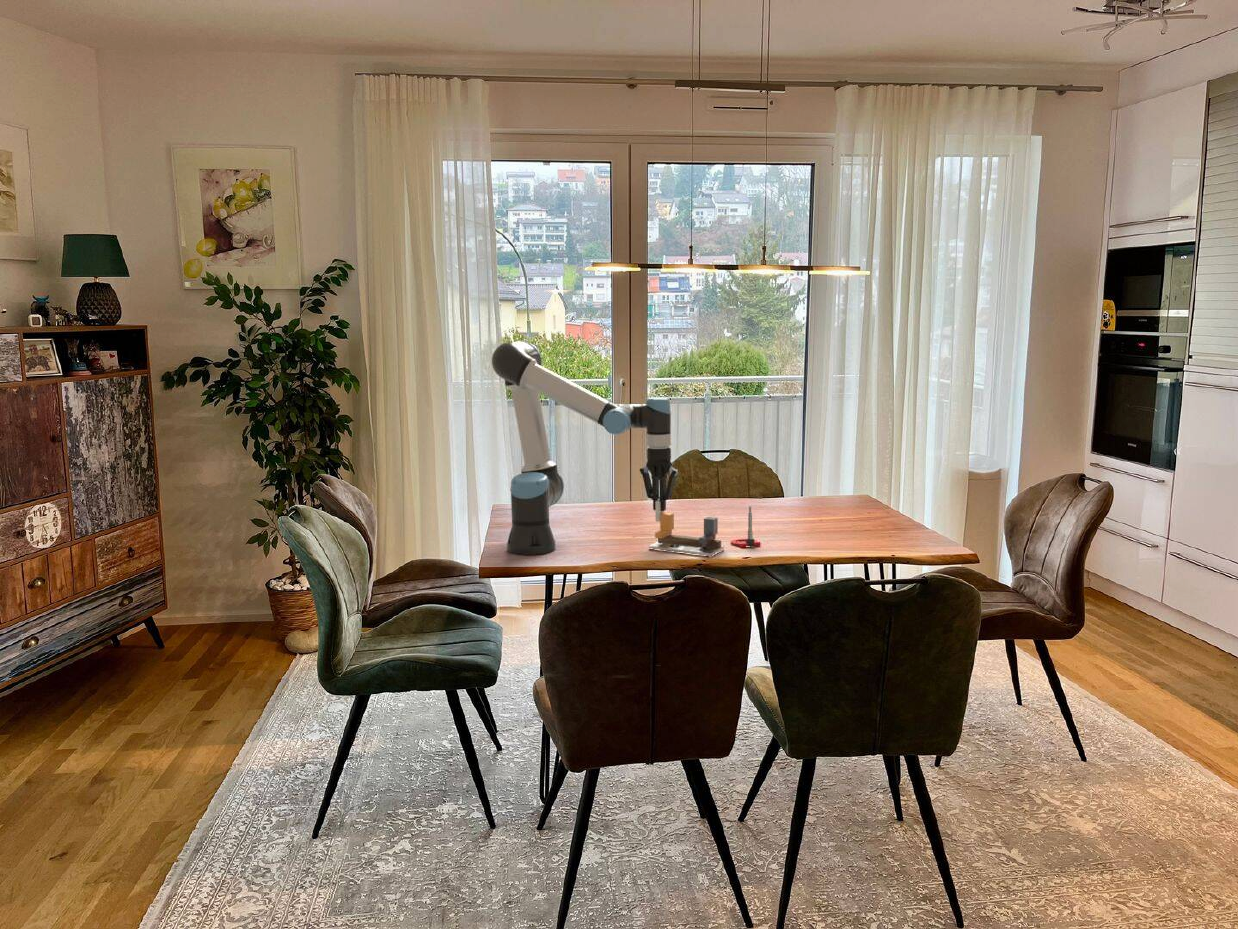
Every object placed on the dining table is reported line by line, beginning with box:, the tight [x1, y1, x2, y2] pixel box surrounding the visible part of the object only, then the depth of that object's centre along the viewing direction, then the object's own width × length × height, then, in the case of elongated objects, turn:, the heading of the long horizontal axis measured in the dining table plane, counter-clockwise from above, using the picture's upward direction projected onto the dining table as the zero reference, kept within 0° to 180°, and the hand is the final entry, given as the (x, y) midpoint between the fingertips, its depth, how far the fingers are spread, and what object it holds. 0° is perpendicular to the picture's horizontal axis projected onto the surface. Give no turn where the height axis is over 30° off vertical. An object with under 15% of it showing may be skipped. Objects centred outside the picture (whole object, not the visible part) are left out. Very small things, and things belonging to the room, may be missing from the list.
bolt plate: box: [647, 534, 725, 557], centre depth 289 cm, size 10×21×3 cm, turn 61°
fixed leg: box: [698, 516, 719, 549], centre depth 286 cm, size 8×3×8 cm, turn 151°
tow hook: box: [730, 506, 761, 548], centre depth 295 cm, size 8×13×9 cm
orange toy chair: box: [654, 511, 675, 543], centre depth 293 cm, size 8×3×8 cm, turn 151°
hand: (659, 520), depth 296 cm, fingers closed
